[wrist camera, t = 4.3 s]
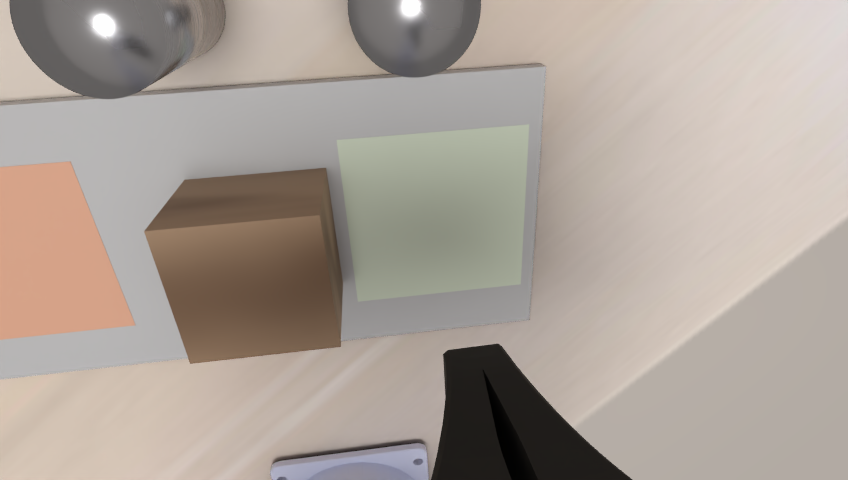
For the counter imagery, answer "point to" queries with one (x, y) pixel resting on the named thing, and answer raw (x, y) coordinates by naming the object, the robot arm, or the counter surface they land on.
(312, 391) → the counter surface
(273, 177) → the walnut block
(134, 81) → the metal peg
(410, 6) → the metal peg
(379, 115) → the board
